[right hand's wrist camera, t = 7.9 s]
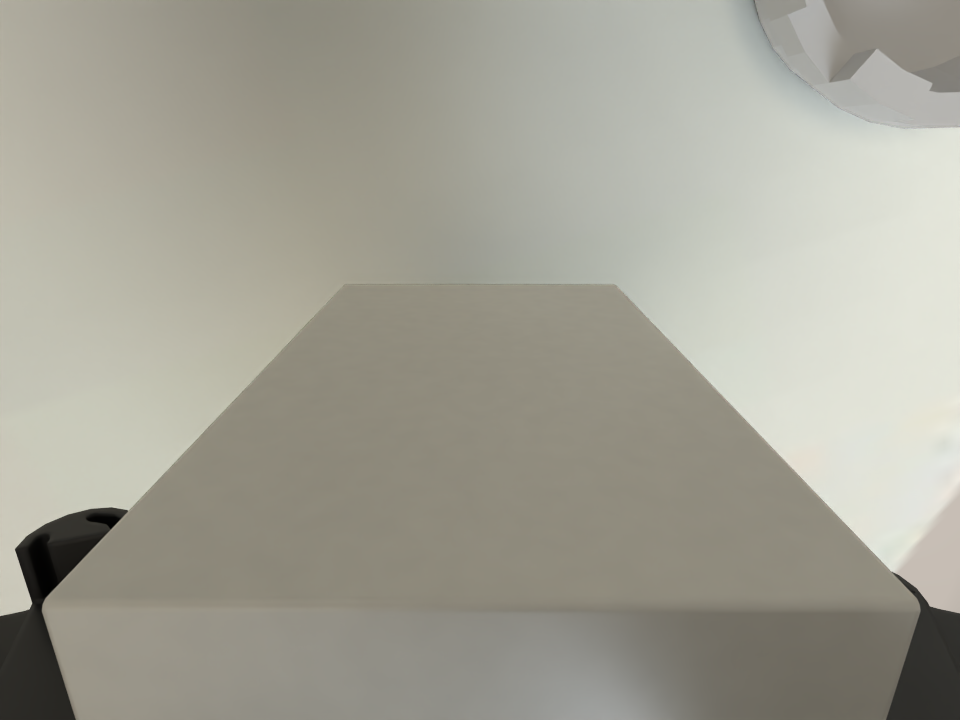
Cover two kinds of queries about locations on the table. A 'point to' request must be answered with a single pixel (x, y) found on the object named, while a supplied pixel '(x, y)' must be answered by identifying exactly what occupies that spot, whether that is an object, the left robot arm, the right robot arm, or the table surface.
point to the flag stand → (874, 55)
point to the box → (480, 537)
